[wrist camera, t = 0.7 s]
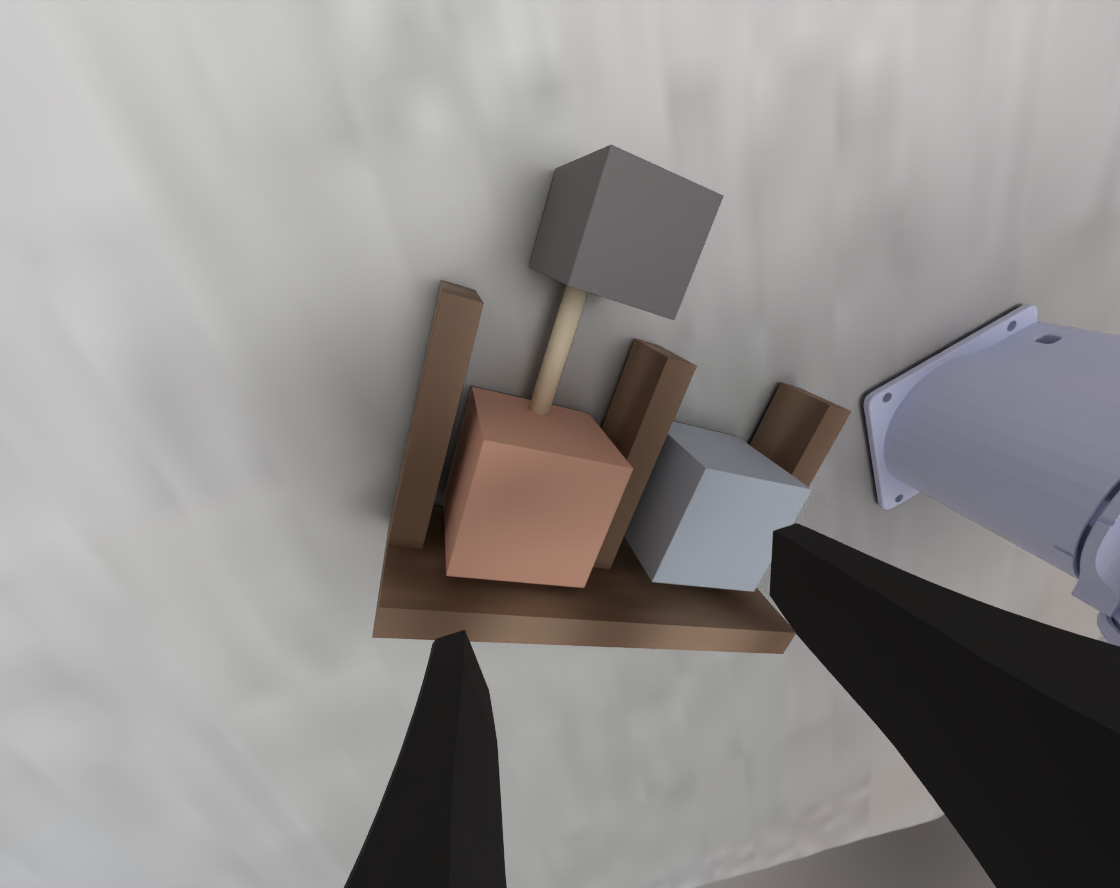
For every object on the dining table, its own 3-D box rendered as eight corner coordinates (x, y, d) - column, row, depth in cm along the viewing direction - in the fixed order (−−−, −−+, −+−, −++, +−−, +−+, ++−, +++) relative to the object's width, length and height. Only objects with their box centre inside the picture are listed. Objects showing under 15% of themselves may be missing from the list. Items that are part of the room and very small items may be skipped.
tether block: (660, 212, 17) (751, 208, 12) (553, 512, 21) (588, 597, 16) (530, 157, 15) (575, 128, 10) (443, 496, 20) (446, 586, 15)
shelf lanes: (800, 388, 22) (918, 441, 16) (709, 563, 25) (782, 653, 20) (441, 280, 16) (445, 308, 11) (388, 525, 19) (372, 637, 14)
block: (737, 436, 22) (812, 489, 18) (694, 523, 24) (753, 591, 19) (647, 415, 20) (705, 468, 16) (608, 510, 22) (652, 582, 18)
